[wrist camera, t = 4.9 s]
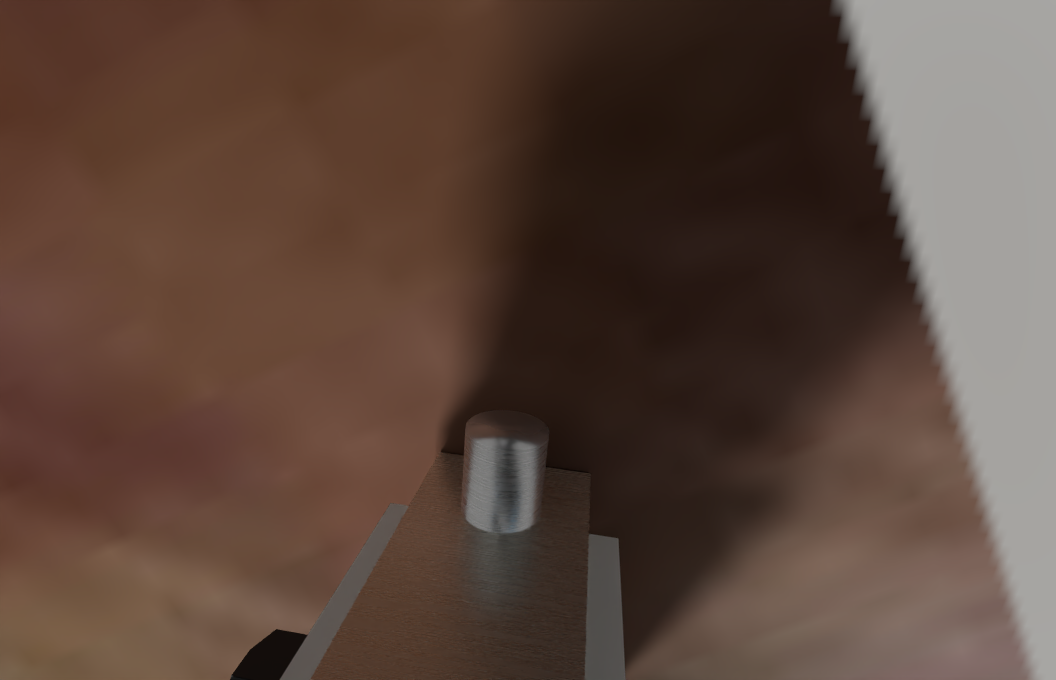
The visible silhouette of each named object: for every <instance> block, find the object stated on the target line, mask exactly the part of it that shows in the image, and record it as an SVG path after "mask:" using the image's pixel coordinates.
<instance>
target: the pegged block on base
mask: <svg viewBox="0 0 1056 680" xmlns="http://www.w3.org/2000/svg"><path fill="white" fill-rule="evenodd" d="M548 439H549V429H548V427H547V425H546V424H545V423H544V422H543V421H542V420H540V419H538V418H537V417H535V416H532V415H530V414H527V413H523V412H518V411H511V410H493V411H487V412H482V413H479V414H477V415H475V416H473V417H471V418H470V419H469V420H468V421H467V423H466V428H465V445H464V455H457V454H450V453H443V452H439V454H438V456H437V457H436V459H435V461H434V463H433V465H432V466H431V468H430V470H429V472H428V473H427V475H426V477H425V479H424V480H423V482H422V484H421V486H420V487H419V489H418V491H417V493H416V494H415V496H414V498H413V500H412V501H411V503H410V505H409V507H408V508H407V510H406V512H405V514H404V515H403V517H402V519H401V521H400V523H399V524H398V526H397V528H396V530H395V531H394V533H393V535H392V537H391V538H390V540H389V542H388V544H387V545H386V547H385V549H384V551H383V552H382V554H381V556H380V558H379V559H378V561H377V563H376V565H375V566H374V568H373V570H372V572H371V573H370V575H369V577H368V579H367V581H366V582H365V584H364V586H363V588H362V589H361V591H360V593H359V595H358V596H357V598H356V600H355V602H354V603H353V605H352V607H351V609H350V610H349V612H348V614H347V616H346V617H345V619H344V621H343V623H342V624H341V626H340V628H339V630H338V631H337V633H336V635H335V637H334V639H333V640H332V642H331V644H330V646H329V647H328V649H327V651H326V653H325V654H324V656H323V658H322V660H321V661H320V663H319V665H318V667H317V668H316V670H315V672H314V674H313V675H312V677H311V679H310V680H585V649H586V615H587V581H588V548H589V514H590V480H591V474H590V473H583V472H576V471H569V470H562V469H555V468H548V467H546V458H547V449H548Z"/></svg>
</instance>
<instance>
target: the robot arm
mask: <svg viewBox="0 0 1056 680" xmlns="http://www.w3.org/2000/svg"><path fill="white" fill-rule="evenodd" d="M408 507H409V506H407V505H400V504H394V503H390V505H389V506H388V508H387V510H386V511H385V513H384V514H383V516H382V518H381V519H380V521H379V522H378V524H377V526H376V527H375V529H374V530H373V532H372V534H371V535H370V537H369V538H368V540H367V542H366V543H365V545H364V546H363V548H362V549H361V551H360V553H359V554H358V556H357V557H356V559H355V561H354V562H353V564H352V565H351V567H350V569H349V570H348V572H347V573H346V575H345V577H344V578H343V580H342V581H341V583H340V585H339V586H338V588H337V589H336V591H335V592H334V594H333V596H332V597H331V599H330V600H329V602H328V604H327V605H326V607H325V608H324V610H323V612H322V613H321V615H320V616H319V618H318V620H317V621H316V623H315V624H314V626H313V628H312V629H311V631H310V632H309V634H308V635H305V634H300V633H294V632H289V631H283V630H278V629H276V630H275V631H274V632H272V633H271V634H270V635H268V636H267V637H266V638H264V639H263V640H262V641H261V642H259V643H258V644H257V645H255V646H254V647H253V648H252V649H250V651H249V652H248V653H247V655H246V656H245V657H244V659H243V660H242V662H241V663H240V664H239V666H238V667H237V668H236V670H235V671H234V673H233V674H232V675H231V679H230V680H310V679H311V677H312V675H313V674H314V672H315V670H316V668H317V667H318V665H319V663H320V661H321V660H322V658H323V656H324V654H325V653H326V651H327V649H328V647H329V646H330V644H331V642H332V640H333V639H334V637H335V635H336V633H337V631H338V630H339V628H340V626H341V624H342V623H343V621H344V619H345V617H346V616H347V614H348V612H349V610H350V609H351V607H352V605H353V603H354V602H355V600H356V598H357V596H358V595H359V593H360V591H361V589H362V588H363V586H364V584H365V582H366V581H367V579H368V577H369V575H370V573H371V572H372V570H373V568H374V566H375V565H376V563H377V561H378V559H379V558H380V556H381V554H382V552H383V551H384V549H385V547H386V545H387V544H388V542H389V540H390V538H391V537H392V535H393V533H394V531H395V530H396V528H397V526H398V524H399V523H400V521H401V519H402V517H403V515H404V514H405V512H406V510H407V508H408ZM585 680H626V679H625V659H624V639H623V619H622V599H621V579H620V559H619V539H618V538H613V537H606V536H600V535H593V534H589V548H588V581H587V615H586V649H585Z"/></svg>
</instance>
